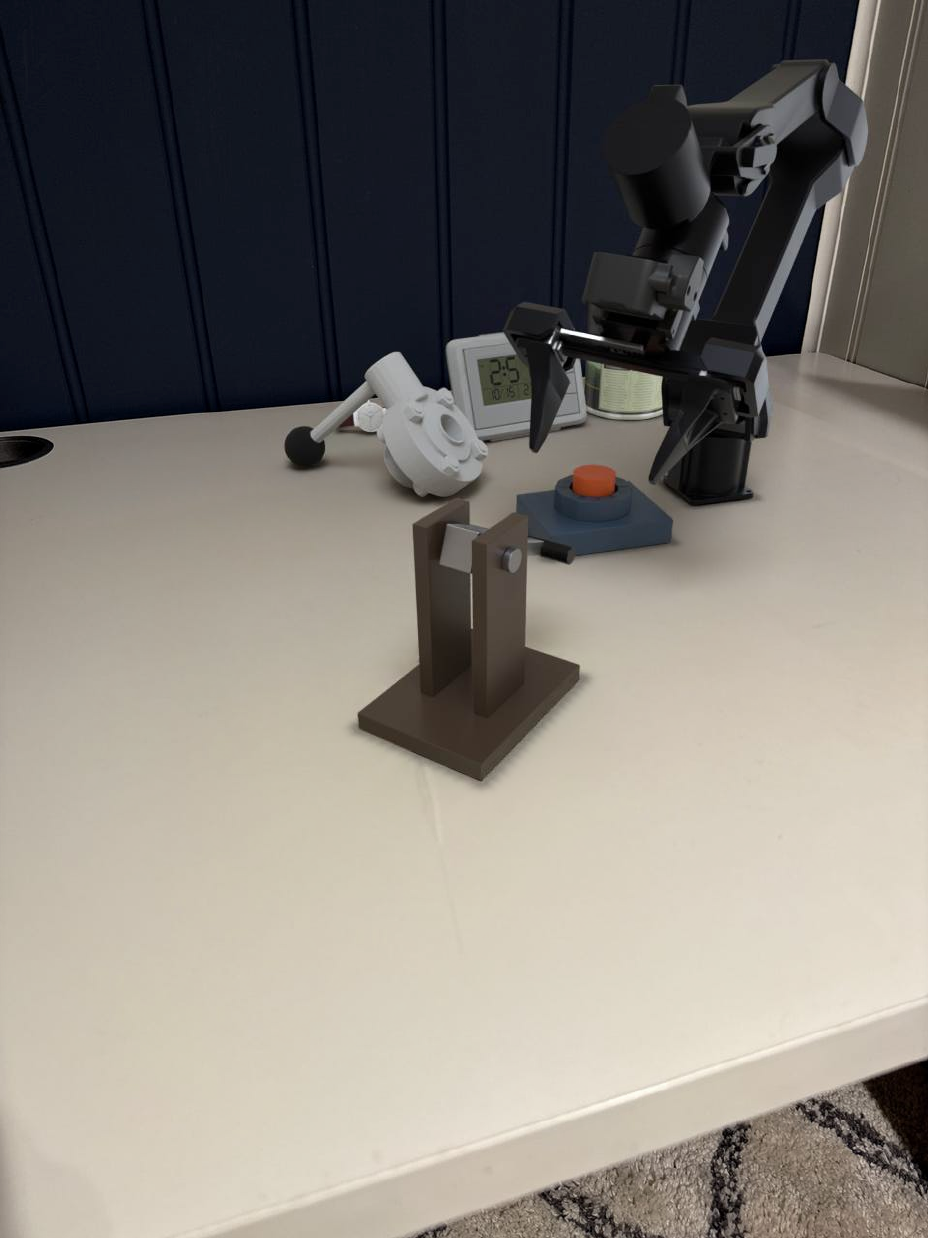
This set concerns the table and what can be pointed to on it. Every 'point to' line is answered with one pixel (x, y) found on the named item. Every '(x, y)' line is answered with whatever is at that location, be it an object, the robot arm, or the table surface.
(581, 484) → the button
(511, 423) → the digital clock
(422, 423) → the mechanical valve
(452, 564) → the tap lever
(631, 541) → the button housing
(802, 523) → the table surface
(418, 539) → the bracket
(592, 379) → the coffee can
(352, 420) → the watch
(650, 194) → the robot arm
